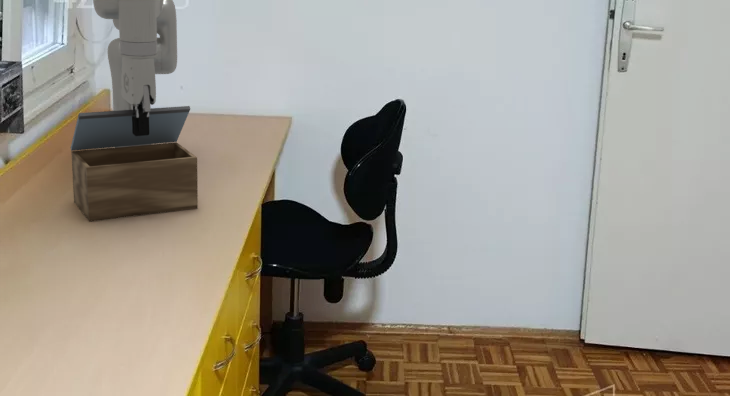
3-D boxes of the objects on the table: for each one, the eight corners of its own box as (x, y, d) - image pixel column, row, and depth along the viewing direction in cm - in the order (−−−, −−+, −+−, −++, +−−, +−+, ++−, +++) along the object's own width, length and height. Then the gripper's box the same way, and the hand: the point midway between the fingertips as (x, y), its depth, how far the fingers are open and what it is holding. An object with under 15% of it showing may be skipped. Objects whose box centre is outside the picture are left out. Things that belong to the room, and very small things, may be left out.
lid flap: (71, 150, 195) (70, 147, 196) (176, 141, 207) (175, 138, 207) (79, 116, 184) (78, 113, 184) (190, 109, 196) (189, 105, 196)
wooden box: (74, 202, 199) (71, 151, 195) (177, 190, 211) (176, 142, 207) (89, 221, 188) (86, 167, 184) (197, 208, 199) (197, 157, 196)
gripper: (110, 44, 188) (114, 128, 193) (130, 55, 176) (133, 144, 181) (145, 43, 192) (147, 125, 197) (167, 54, 179) (169, 141, 185)
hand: (141, 134), depth 189 cm, fingers closed
